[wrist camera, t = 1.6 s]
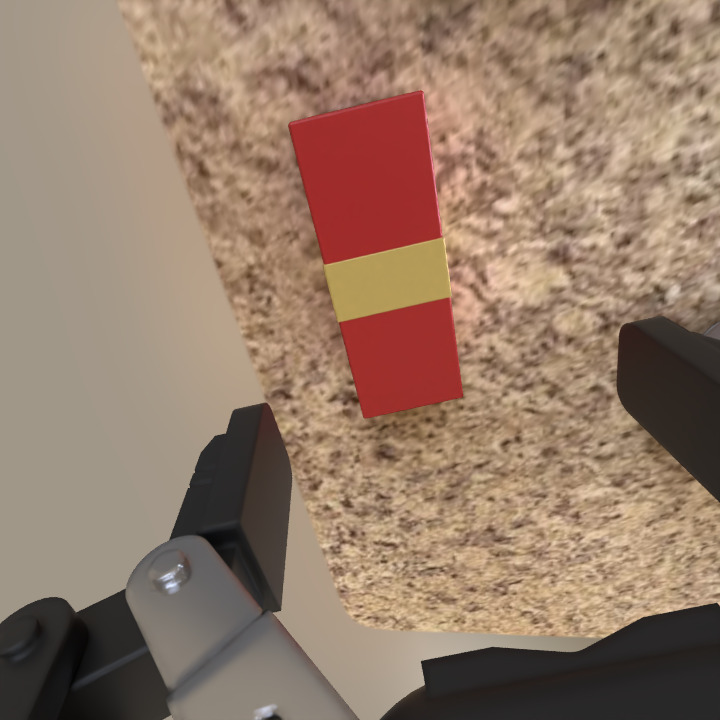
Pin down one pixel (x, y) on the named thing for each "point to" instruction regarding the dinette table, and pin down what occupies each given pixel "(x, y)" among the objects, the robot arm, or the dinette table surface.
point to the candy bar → (383, 249)
